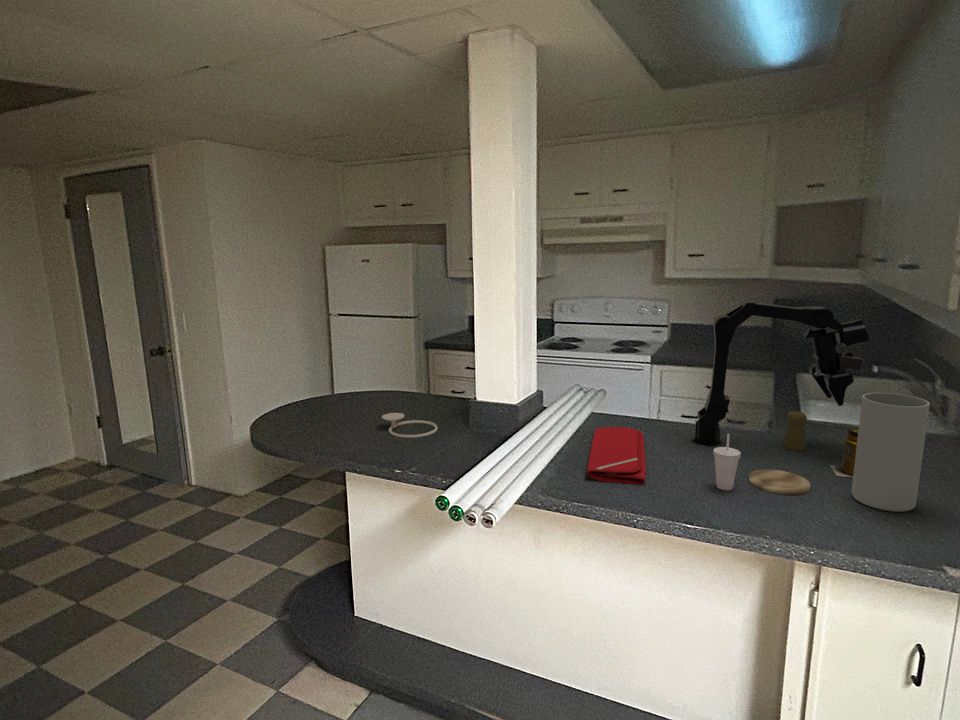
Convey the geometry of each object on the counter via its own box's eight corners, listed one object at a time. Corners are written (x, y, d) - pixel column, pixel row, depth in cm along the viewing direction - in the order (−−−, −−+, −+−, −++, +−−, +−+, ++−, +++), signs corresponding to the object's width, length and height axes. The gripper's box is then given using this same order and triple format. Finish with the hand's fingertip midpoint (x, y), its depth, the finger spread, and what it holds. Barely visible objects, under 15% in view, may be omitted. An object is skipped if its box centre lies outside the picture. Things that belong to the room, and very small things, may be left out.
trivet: (737, 481, 147) (738, 477, 147) (766, 468, 155) (766, 465, 155) (792, 499, 136) (792, 495, 136) (820, 485, 144) (820, 481, 143)
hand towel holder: (421, 428, 183) (369, 421, 192) (422, 441, 184) (369, 434, 193) (446, 414, 198) (396, 408, 207) (446, 426, 199) (397, 420, 208)
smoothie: (740, 485, 145) (744, 433, 142) (736, 494, 139) (740, 440, 137) (713, 480, 148) (716, 429, 145) (708, 489, 143) (711, 436, 140)
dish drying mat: (643, 436, 185) (644, 425, 184) (646, 487, 146) (647, 473, 145) (594, 433, 189) (594, 423, 188) (584, 482, 150) (585, 468, 149)
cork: (782, 449, 170) (785, 413, 168) (782, 442, 175) (785, 408, 173) (805, 452, 167) (809, 416, 165) (805, 445, 172) (808, 410, 170)
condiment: (874, 479, 147) (879, 435, 144) (837, 476, 149) (841, 433, 147) (865, 469, 153) (870, 427, 151) (829, 466, 156) (833, 424, 154)
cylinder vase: (839, 495, 138) (850, 396, 133) (872, 486, 142) (884, 390, 138) (893, 517, 126) (907, 409, 121) (927, 506, 131) (942, 402, 126)
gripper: (870, 349, 151) (880, 404, 153) (845, 339, 169) (853, 389, 171) (824, 357, 154) (834, 411, 156) (804, 347, 172) (813, 396, 174)
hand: (835, 401), depth 164 cm, fingers open, 9 cm apart
